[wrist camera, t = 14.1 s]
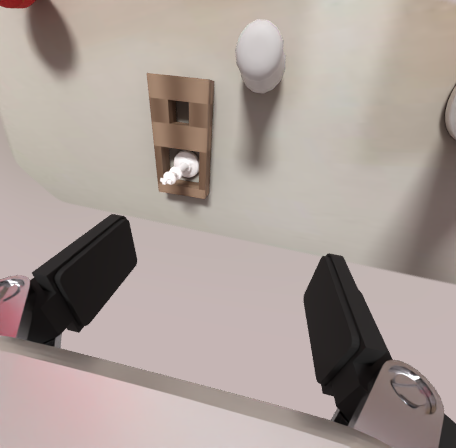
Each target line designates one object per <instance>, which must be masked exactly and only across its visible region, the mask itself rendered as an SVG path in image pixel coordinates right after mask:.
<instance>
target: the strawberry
mask: <svg viewBox="0 0 456 448" xmlns="http://www.w3.org/2000/svg"><path fill="white" fill-rule="evenodd" d="M35 1H36V0H0V6H2V7H6V8H27V7H29V6H31V5H32V4H33V3H34V2H35Z"/></svg>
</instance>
